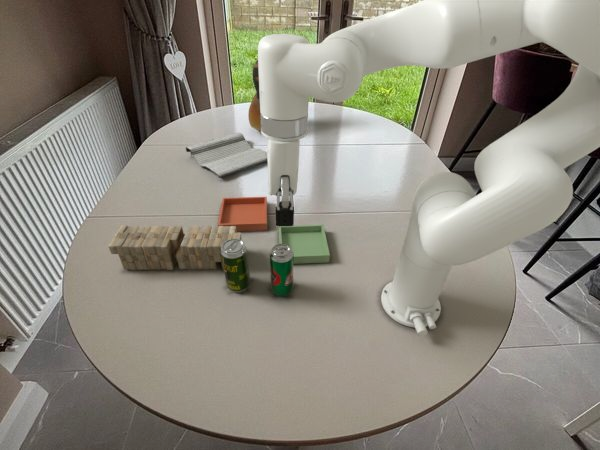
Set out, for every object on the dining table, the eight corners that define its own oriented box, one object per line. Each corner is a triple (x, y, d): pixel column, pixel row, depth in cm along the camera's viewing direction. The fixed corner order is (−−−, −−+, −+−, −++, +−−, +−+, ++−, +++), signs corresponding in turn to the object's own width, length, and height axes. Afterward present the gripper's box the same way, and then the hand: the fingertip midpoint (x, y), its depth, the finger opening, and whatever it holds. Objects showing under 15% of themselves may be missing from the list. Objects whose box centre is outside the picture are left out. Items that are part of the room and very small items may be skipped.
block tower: (244, 251, 87) (130, 248, 86) (242, 225, 82) (121, 222, 80) (240, 273, 81) (117, 270, 79) (238, 247, 76) (106, 243, 74)
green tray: (329, 262, 83) (330, 255, 82) (280, 264, 82) (280, 257, 81) (322, 231, 93) (323, 224, 91) (279, 232, 92) (278, 225, 90)
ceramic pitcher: (302, 127, 150) (304, 54, 132) (277, 142, 137) (275, 64, 118) (267, 117, 158) (264, 47, 140) (240, 131, 145) (233, 56, 126)
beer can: (233, 273, 80) (228, 235, 72) (254, 279, 78) (250, 241, 71) (222, 289, 76) (214, 251, 68) (243, 296, 74) (238, 257, 67)
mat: (219, 182, 112) (218, 170, 109) (187, 157, 125) (184, 146, 122) (274, 161, 124) (273, 150, 121) (239, 141, 138) (238, 130, 135)
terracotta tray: (267, 230, 93) (266, 223, 91) (218, 232, 92) (217, 225, 90) (266, 203, 103) (266, 196, 101) (223, 204, 102) (222, 197, 100)
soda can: (290, 299, 74) (290, 261, 66) (268, 295, 75) (266, 257, 67) (295, 282, 78) (295, 244, 70) (274, 279, 78) (272, 241, 71)
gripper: (261, 104, 60) (265, 185, 70) (259, 147, 46) (263, 239, 57) (303, 105, 60) (300, 185, 71) (312, 147, 47) (306, 238, 58)
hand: (283, 209), depth 64 cm, fingers open, 9 cm apart
